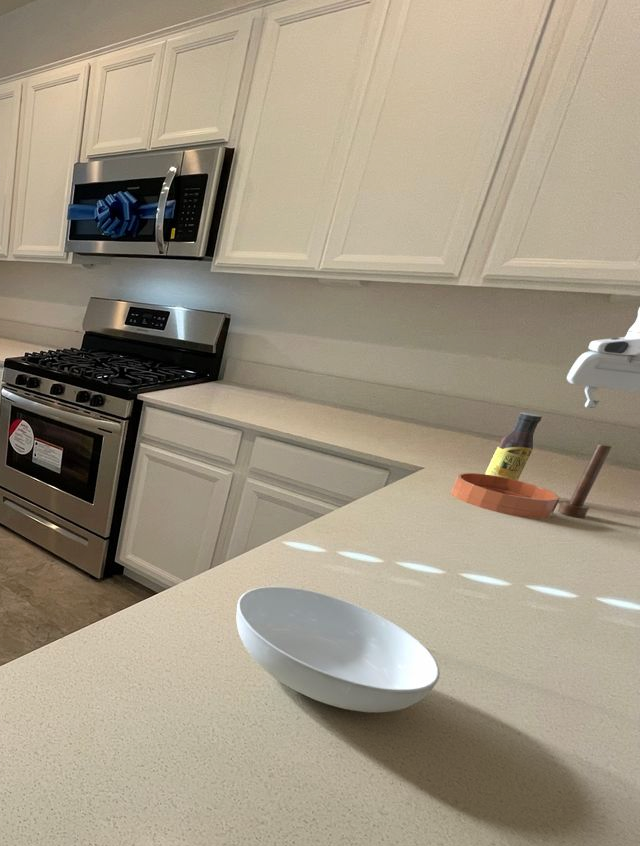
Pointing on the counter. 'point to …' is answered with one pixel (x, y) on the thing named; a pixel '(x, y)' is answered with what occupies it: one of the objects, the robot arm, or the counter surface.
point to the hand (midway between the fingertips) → (620, 411)
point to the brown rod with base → (585, 484)
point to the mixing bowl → (505, 495)
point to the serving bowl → (334, 650)
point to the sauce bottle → (514, 448)
